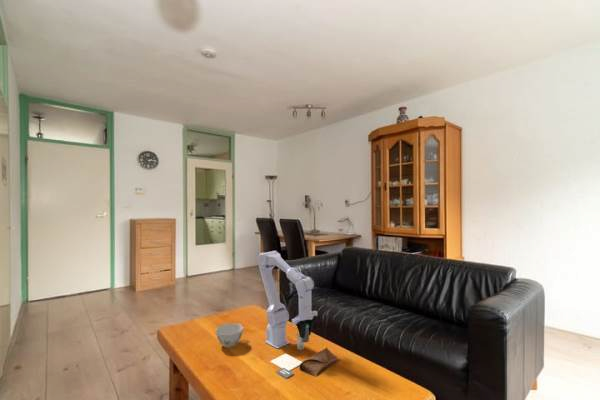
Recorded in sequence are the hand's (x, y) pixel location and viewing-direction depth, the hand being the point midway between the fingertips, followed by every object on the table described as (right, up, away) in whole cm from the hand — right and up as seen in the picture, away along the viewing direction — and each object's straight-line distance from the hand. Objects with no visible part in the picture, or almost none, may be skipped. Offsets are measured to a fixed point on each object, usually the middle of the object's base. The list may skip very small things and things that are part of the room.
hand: (305, 336), depth 131 cm
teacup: (-35, -9, +11) cm, 38 cm away
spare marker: (-2, -9, +6) cm, 11 cm away
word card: (-8, -8, -14) cm, 19 cm away
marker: (0, -2, 0) cm, 2 cm away
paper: (-8, -8, -6) cm, 13 cm away
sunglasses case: (+6, -9, -8) cm, 13 cm away
